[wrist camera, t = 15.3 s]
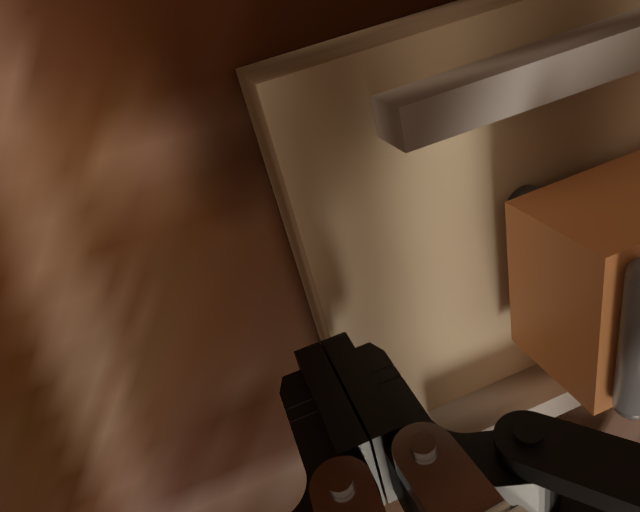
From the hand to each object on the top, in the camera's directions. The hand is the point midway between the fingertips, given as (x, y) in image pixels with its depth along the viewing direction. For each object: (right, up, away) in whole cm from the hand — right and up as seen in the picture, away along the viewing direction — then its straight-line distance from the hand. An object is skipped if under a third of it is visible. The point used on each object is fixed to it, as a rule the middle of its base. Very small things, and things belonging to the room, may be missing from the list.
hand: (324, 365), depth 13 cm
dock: (+6, +5, +4) cm, 9 cm away
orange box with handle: (+9, +4, +2) cm, 10 cm away
